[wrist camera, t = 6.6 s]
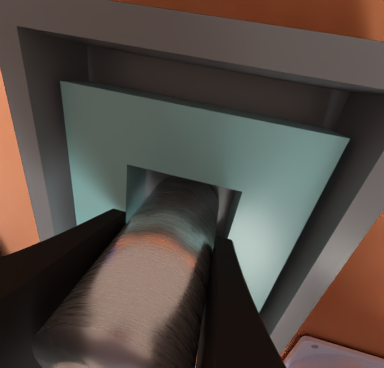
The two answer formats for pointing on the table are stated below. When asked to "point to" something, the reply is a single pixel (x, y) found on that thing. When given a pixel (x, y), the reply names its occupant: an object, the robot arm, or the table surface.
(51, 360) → the peg
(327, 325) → the table surface
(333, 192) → the tray
